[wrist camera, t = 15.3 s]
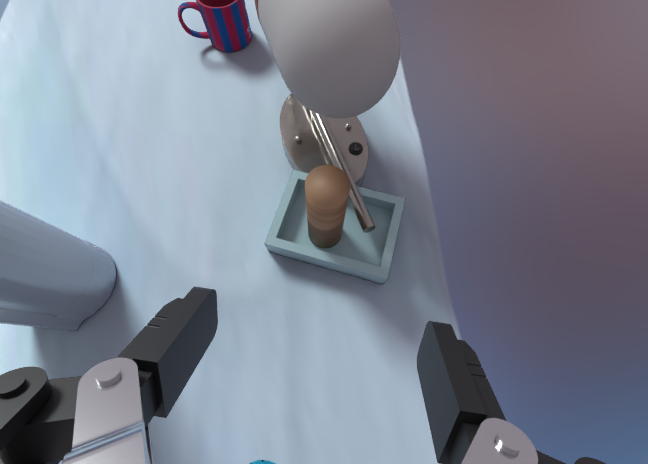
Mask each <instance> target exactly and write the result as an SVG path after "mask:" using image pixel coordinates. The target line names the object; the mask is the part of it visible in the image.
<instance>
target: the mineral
mask: <svg viewBox="0 0 648 464" xmlns="http://www.w3.org/2000/svg"><path fill="white" fill-rule="evenodd" d="M250 464H275V463H273V462H270V461H266V460H258V461H255V462H252V463H250Z"/></svg>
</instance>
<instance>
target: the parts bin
mask: <svg viewBox="0 0 648 464" xmlns="http://www.w3.org/2000/svg"><path fill="white" fill-rule="evenodd" d="M307 175H308V173H304V172H300V171H297V170H293V171H292V173H291V176H290V179H289V181H288V184H287V186H286V189H285V191H284V194H283V197H282V199H281V202H280V204H279V207H278V209H277V212H276V215H275V217H274V220H273V222H272V225H271V227H270V230H269V233H268V235H267V238H266V240H265V243H264V244H265V245H266V247H267V249H268V251H269V252H272V253H275V254H279V255H282V256H286V257H289V258H293V259H296V260H300V261H303V262H307V263H310V264H313V265H317V266H320V267H324V268H327V269H331V270H334V271H338V272H341V273H345V274H348V275H352V276H355V277H359V278H362V279H365V280H369V281H372V282H376V283H379V284H383V283H384V282H385V281H386V280H387V278H388V274H389V269H390V265H391V260H392V256H393V252H394V247H395V243H396V238H397V234H398V229H399V225H400V221H401V216H402V212H403V207H404V203H405V198H402V197H398V196H394V195H390V194H386V193H382V192H378V191H374V190H370V189H367V188H363V187H359V186H357V187H358V190H359V192H360V194H361V196H362V198H363V200H364V203H365V205H366V207H367V209H368V211H369V214H370V216H371V218H372V220H373V222H374V224H375V229H374V230H372V231H370V232H368V233H364V232H363V230H362V228H361V226H360V224H359V221H358V219H357V217H356V215H355V212H354V210H353V208H352V205H351V203H350V201H349V199H348V203H347V209H346V214H345V219H344V225H343V230H342V235H341V239H340V241H339V242H338V243H337V244H336V245H335V246H333V247H331V248H320V247H317V246H315V245H314V244H313V243H312V242H311V240H310V239H309V235H308V223H307V209H306V196H305V179H306V177H307Z"/></svg>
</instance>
